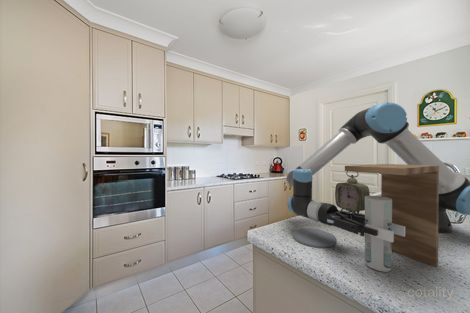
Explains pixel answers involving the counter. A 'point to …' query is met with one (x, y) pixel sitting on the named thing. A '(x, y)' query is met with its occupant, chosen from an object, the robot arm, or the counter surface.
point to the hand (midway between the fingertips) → (398, 234)
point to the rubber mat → (314, 238)
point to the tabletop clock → (351, 195)
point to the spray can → (376, 248)
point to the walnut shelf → (411, 206)
